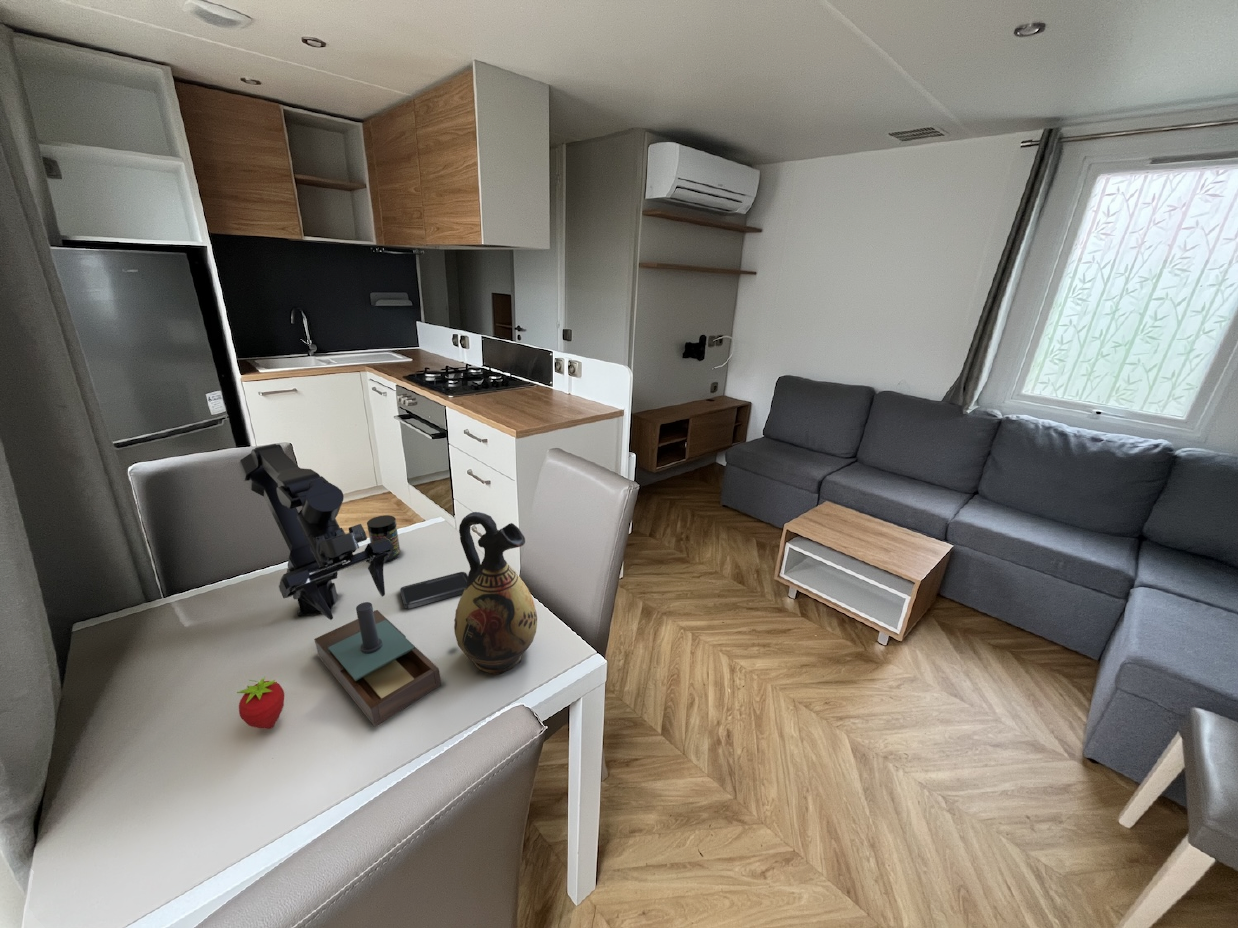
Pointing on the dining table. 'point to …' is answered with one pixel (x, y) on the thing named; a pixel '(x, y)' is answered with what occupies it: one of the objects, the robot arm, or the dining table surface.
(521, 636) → the ceramic jug
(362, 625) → the peg plate
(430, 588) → the phone
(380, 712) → the sliding lid box
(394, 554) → the supplement container
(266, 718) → the strawberry
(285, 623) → the dining table surface
